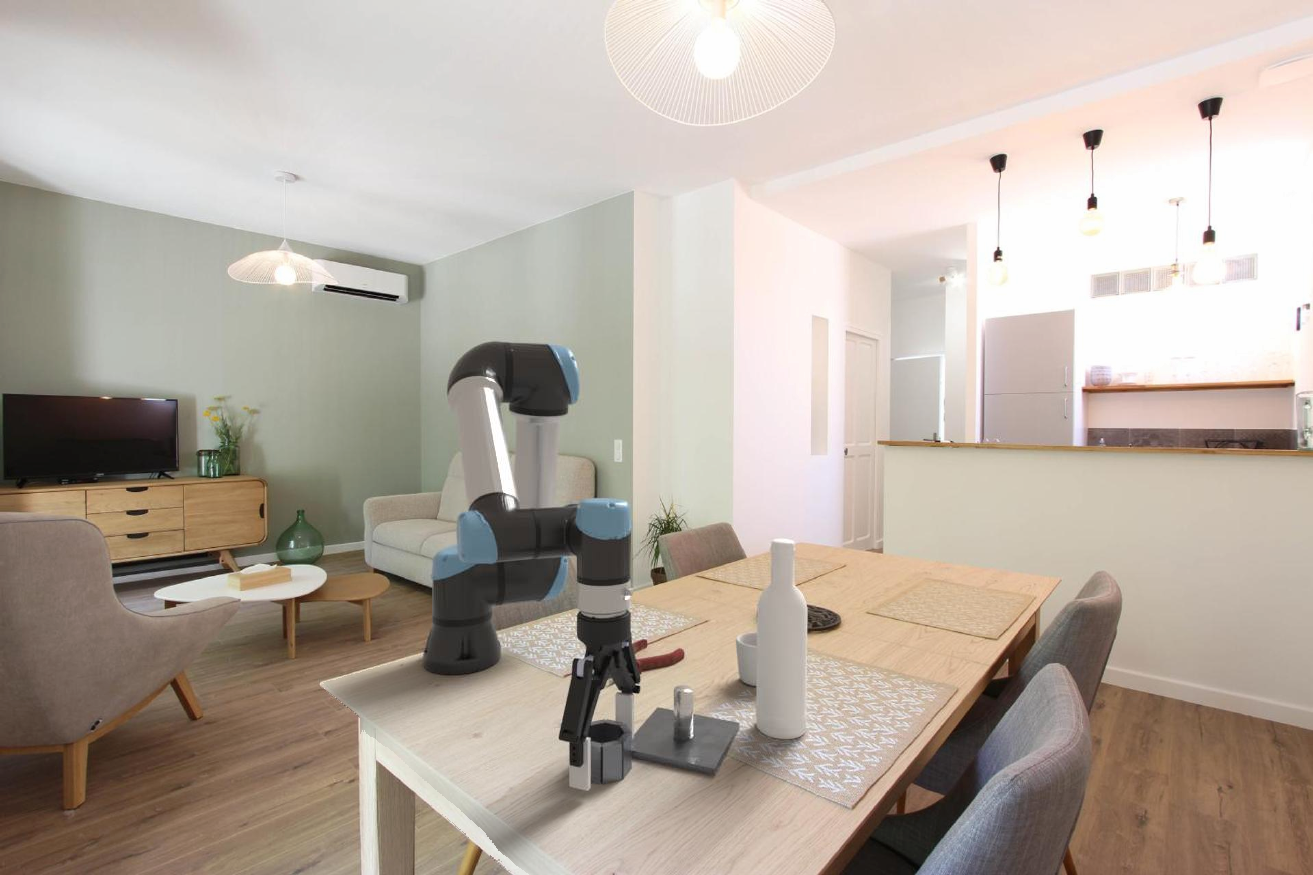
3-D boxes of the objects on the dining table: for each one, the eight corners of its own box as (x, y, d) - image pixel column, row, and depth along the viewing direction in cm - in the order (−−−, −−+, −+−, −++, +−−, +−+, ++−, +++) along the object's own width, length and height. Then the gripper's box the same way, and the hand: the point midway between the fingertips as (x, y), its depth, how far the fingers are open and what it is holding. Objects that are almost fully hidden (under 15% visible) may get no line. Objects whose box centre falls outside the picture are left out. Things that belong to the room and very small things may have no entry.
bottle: (816, 736, 96) (818, 544, 95) (770, 743, 93) (772, 546, 93) (790, 712, 103) (792, 534, 103) (747, 719, 101) (749, 537, 100)
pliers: (580, 679, 117) (580, 665, 117) (642, 647, 134) (642, 636, 134) (628, 695, 111) (628, 680, 111) (687, 660, 127) (687, 647, 127)
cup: (796, 678, 117) (796, 636, 117) (790, 695, 110) (791, 651, 110) (740, 670, 121) (740, 629, 121) (731, 686, 113) (731, 643, 113)
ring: (567, 775, 85) (567, 739, 84) (592, 749, 91) (592, 716, 91) (616, 787, 82) (616, 750, 82) (638, 759, 89) (638, 725, 89)
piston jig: (622, 754, 90) (622, 700, 90) (657, 712, 103) (657, 665, 103) (714, 775, 85) (715, 718, 85) (739, 728, 98) (739, 679, 98)
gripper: (584, 642, 73) (584, 819, 73) (661, 590, 96) (661, 725, 96) (530, 634, 76) (530, 805, 76) (618, 586, 99) (618, 716, 99)
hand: (603, 761), depth 86 cm, fingers open, 13 cm apart
